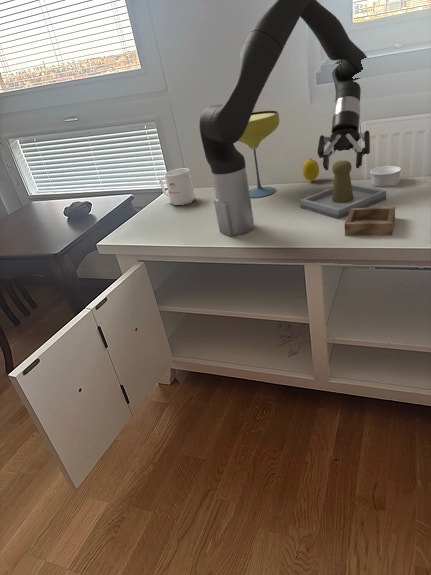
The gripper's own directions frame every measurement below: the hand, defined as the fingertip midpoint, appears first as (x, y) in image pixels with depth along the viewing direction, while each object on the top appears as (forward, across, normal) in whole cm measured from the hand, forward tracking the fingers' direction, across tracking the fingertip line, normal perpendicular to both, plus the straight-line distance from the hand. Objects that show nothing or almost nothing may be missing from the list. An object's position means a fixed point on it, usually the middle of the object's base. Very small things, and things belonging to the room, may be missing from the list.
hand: (341, 168), depth 122 cm
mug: (+3, -58, +12) cm, 60 cm away
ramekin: (-4, +11, +19) cm, 22 cm away
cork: (+7, 0, +6) cm, 9 cm away
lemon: (-8, -14, +23) cm, 28 cm away
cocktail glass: (-2, -30, +16) cm, 34 cm away
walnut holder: (+20, +9, -6) cm, 23 cm away
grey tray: (+8, 0, +6) cm, 10 cm away
